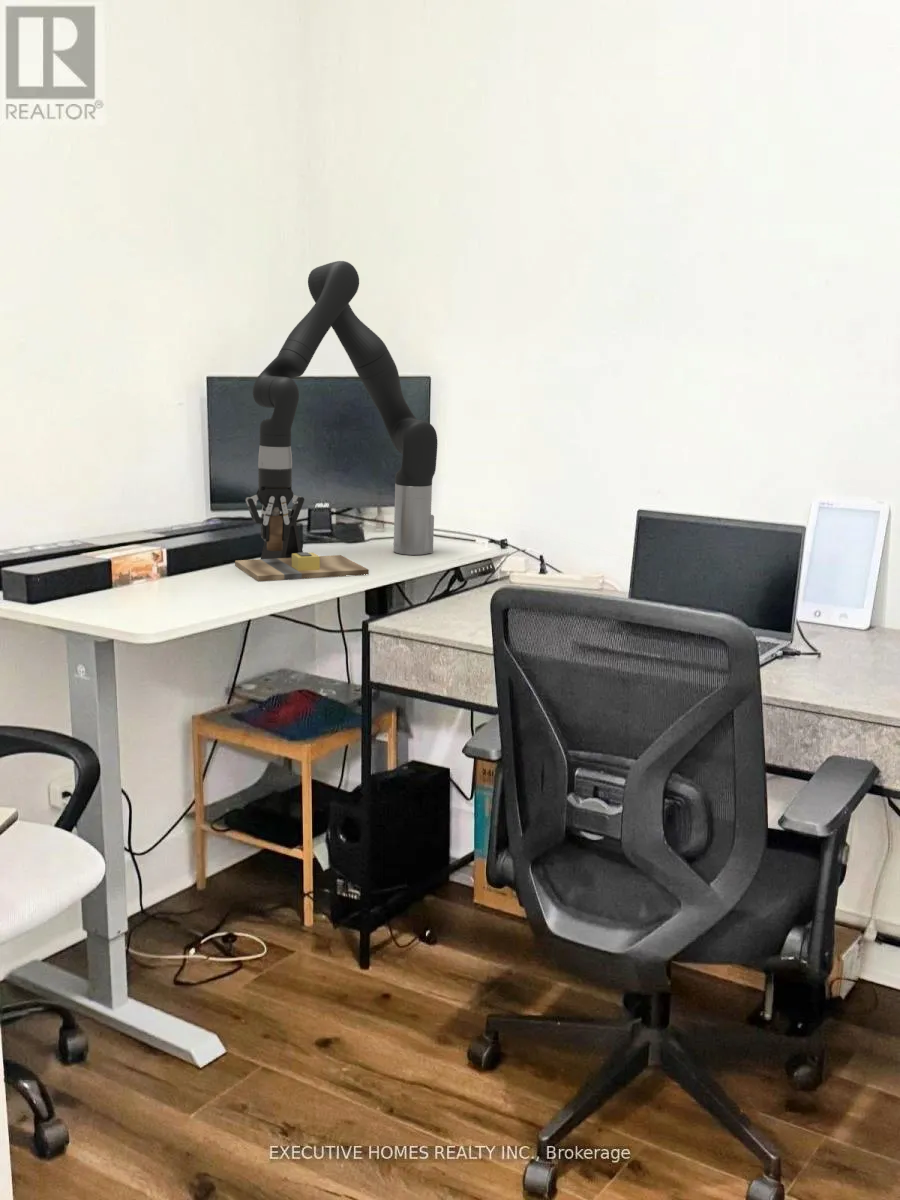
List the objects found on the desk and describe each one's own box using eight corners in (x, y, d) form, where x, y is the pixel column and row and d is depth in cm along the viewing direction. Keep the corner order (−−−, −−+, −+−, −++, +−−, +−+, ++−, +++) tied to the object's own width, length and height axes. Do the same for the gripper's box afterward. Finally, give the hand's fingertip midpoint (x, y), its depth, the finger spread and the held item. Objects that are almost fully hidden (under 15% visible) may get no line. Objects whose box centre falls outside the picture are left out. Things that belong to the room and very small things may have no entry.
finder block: (312, 565, 268) (312, 551, 267) (319, 569, 263) (319, 555, 263) (291, 566, 266) (291, 552, 265) (298, 570, 261) (298, 556, 261)
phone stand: (279, 563, 275) (280, 513, 272) (260, 560, 278) (260, 510, 275) (304, 558, 282) (304, 508, 280) (284, 554, 286) (285, 506, 283)
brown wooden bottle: (279, 547, 271) (280, 505, 269) (284, 550, 268) (285, 507, 265) (264, 548, 269) (265, 505, 267) (269, 551, 266) (269, 507, 264)
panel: (340, 560, 282) (340, 555, 281) (368, 574, 266) (368, 569, 266) (235, 565, 270) (235, 560, 270) (257, 581, 255) (257, 575, 254)
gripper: (299, 463, 271) (298, 536, 274) (240, 464, 264) (240, 539, 268) (310, 467, 264) (309, 542, 268) (249, 468, 258) (249, 544, 262)
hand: (274, 540), depth 268 cm, fingers closed on brown wooden bottle, 3 cm apart
